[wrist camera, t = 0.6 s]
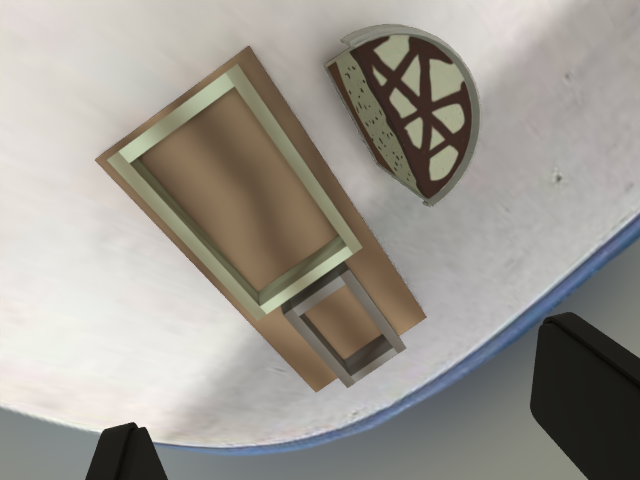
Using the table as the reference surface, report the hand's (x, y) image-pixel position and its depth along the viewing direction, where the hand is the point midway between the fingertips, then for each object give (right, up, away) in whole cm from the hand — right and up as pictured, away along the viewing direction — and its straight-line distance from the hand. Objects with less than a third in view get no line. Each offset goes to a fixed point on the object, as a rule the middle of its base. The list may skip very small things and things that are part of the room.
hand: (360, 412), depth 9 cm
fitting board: (-4, +3, +27) cm, 28 cm away
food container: (+4, +16, +24) cm, 29 cm away
